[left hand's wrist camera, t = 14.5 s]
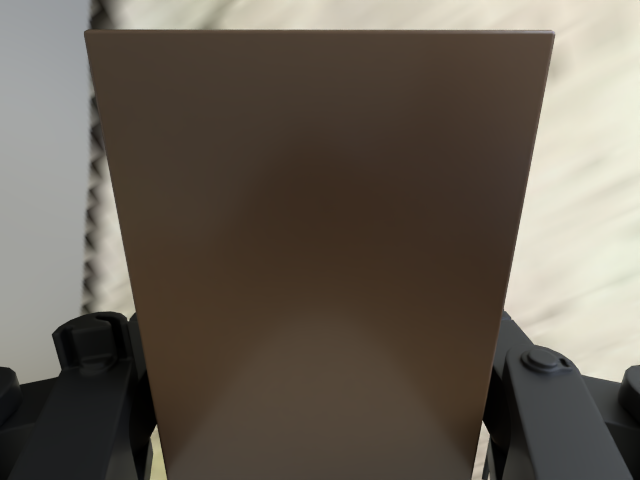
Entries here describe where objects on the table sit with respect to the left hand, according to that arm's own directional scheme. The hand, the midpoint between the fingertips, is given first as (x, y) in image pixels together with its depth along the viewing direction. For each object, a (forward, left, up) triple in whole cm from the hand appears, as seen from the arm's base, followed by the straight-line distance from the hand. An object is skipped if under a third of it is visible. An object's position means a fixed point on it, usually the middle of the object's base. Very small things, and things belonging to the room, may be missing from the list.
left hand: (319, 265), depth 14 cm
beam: (+29, -6, -1) cm, 29 cm away
